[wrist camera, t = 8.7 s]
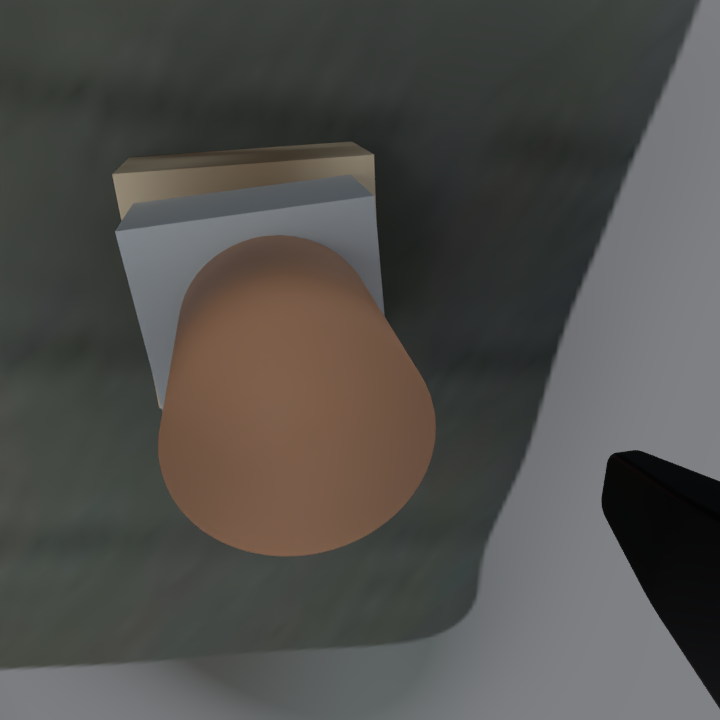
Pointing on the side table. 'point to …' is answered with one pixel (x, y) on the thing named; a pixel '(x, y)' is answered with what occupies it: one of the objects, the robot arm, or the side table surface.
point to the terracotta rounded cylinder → (290, 403)
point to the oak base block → (237, 171)
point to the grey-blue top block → (227, 228)
